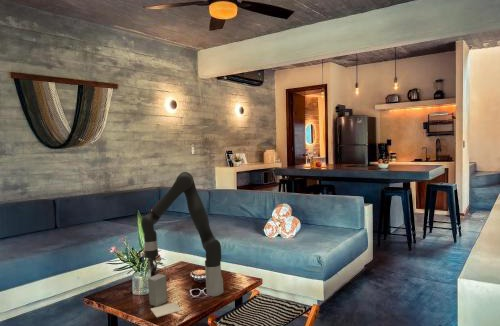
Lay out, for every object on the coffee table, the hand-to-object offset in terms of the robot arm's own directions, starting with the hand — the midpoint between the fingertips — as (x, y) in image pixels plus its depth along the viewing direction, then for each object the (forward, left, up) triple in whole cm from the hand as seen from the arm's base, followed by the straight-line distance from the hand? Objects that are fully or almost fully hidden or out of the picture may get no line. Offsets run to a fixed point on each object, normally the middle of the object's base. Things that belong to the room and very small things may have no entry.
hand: (153, 277), depth 224 cm
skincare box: (0, +9, -13) cm, 15 cm away
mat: (-1, +20, -12) cm, 23 cm away
